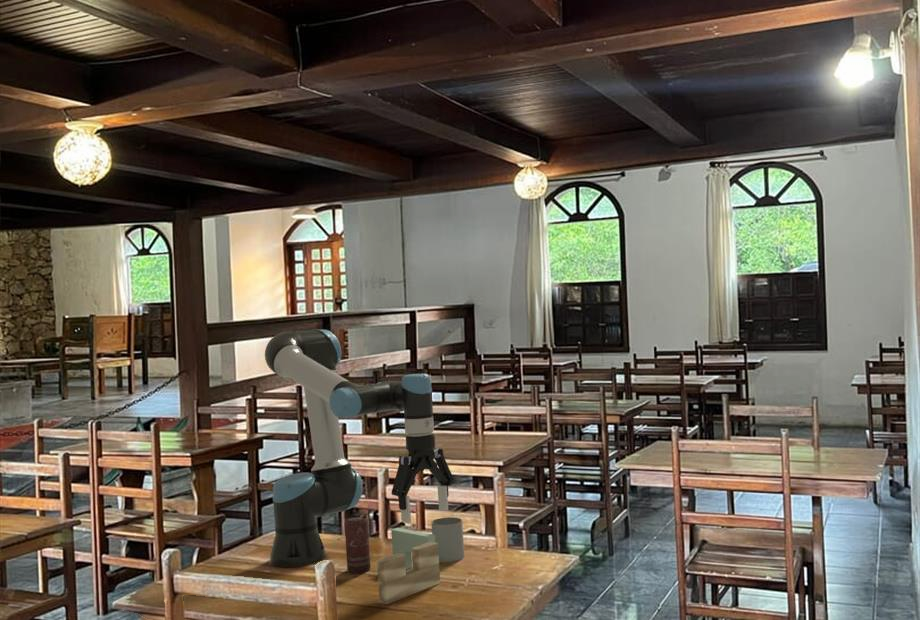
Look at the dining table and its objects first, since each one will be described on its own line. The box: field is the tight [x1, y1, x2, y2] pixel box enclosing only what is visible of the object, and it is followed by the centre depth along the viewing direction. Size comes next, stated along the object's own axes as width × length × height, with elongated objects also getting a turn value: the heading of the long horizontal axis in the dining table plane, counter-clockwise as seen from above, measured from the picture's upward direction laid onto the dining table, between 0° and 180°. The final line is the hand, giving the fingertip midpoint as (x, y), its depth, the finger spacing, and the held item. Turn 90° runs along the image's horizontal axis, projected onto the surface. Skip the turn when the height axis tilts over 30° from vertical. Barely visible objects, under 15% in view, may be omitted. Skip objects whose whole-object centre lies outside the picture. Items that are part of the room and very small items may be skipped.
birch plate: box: [376, 542, 441, 605], centre depth 204 cm, size 2×18×10 cm, turn 137°
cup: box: [431, 516, 465, 563], centre depth 231 cm, size 8×8×10 cm
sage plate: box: [390, 527, 435, 571], centre depth 222 cm, size 14×2×10 cm, turn 47°
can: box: [344, 514, 371, 575], centre depth 225 cm, size 6×6×14 cm
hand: (425, 516), depth 218 cm, fingers open, 13 cm apart
